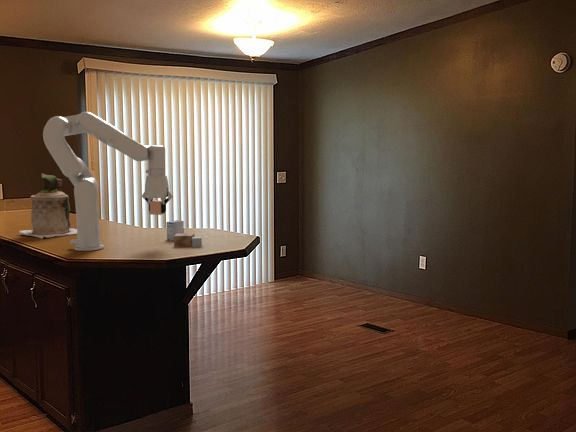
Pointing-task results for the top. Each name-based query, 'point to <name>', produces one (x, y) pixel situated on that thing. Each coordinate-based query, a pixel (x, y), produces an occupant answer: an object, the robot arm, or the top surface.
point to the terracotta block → (155, 207)
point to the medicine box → (174, 228)
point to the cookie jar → (50, 211)
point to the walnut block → (183, 239)
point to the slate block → (196, 241)
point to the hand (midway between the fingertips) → (157, 212)
